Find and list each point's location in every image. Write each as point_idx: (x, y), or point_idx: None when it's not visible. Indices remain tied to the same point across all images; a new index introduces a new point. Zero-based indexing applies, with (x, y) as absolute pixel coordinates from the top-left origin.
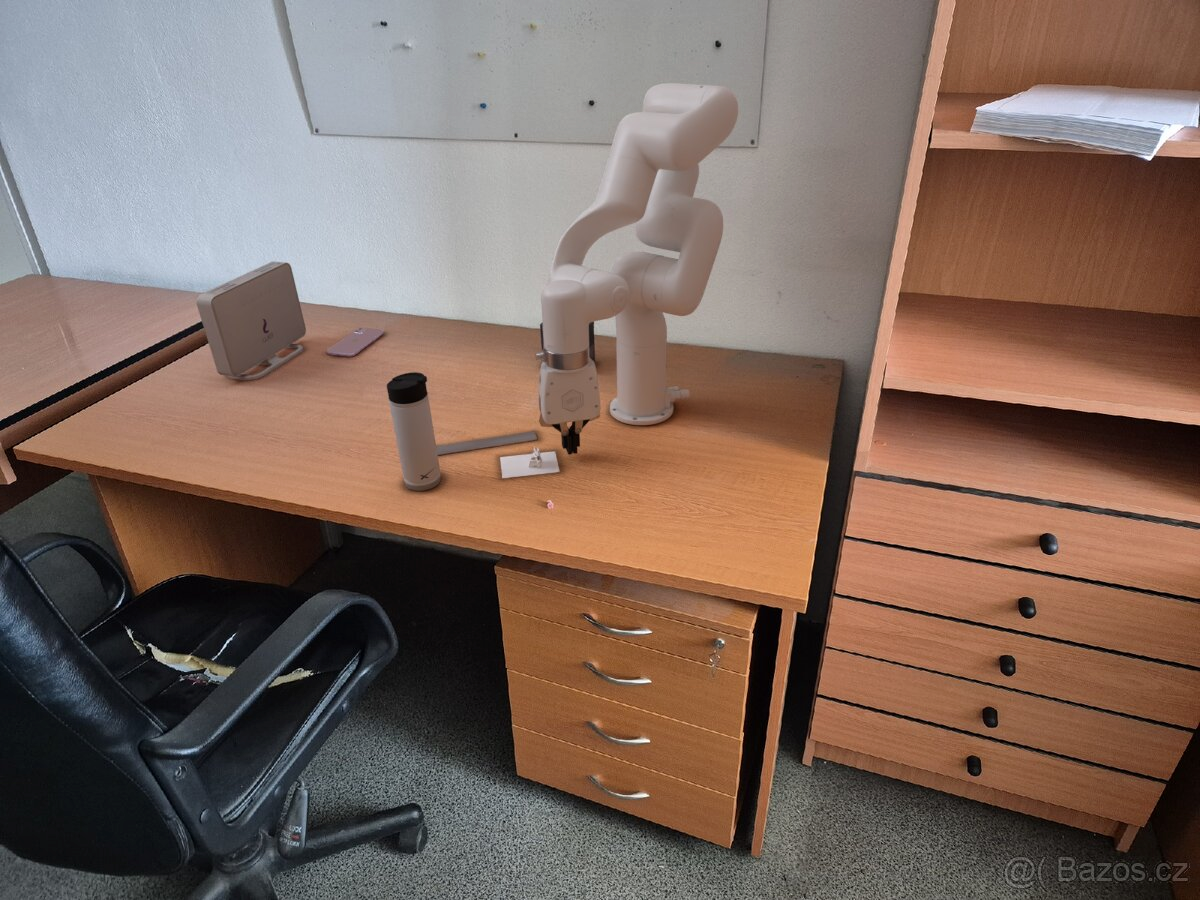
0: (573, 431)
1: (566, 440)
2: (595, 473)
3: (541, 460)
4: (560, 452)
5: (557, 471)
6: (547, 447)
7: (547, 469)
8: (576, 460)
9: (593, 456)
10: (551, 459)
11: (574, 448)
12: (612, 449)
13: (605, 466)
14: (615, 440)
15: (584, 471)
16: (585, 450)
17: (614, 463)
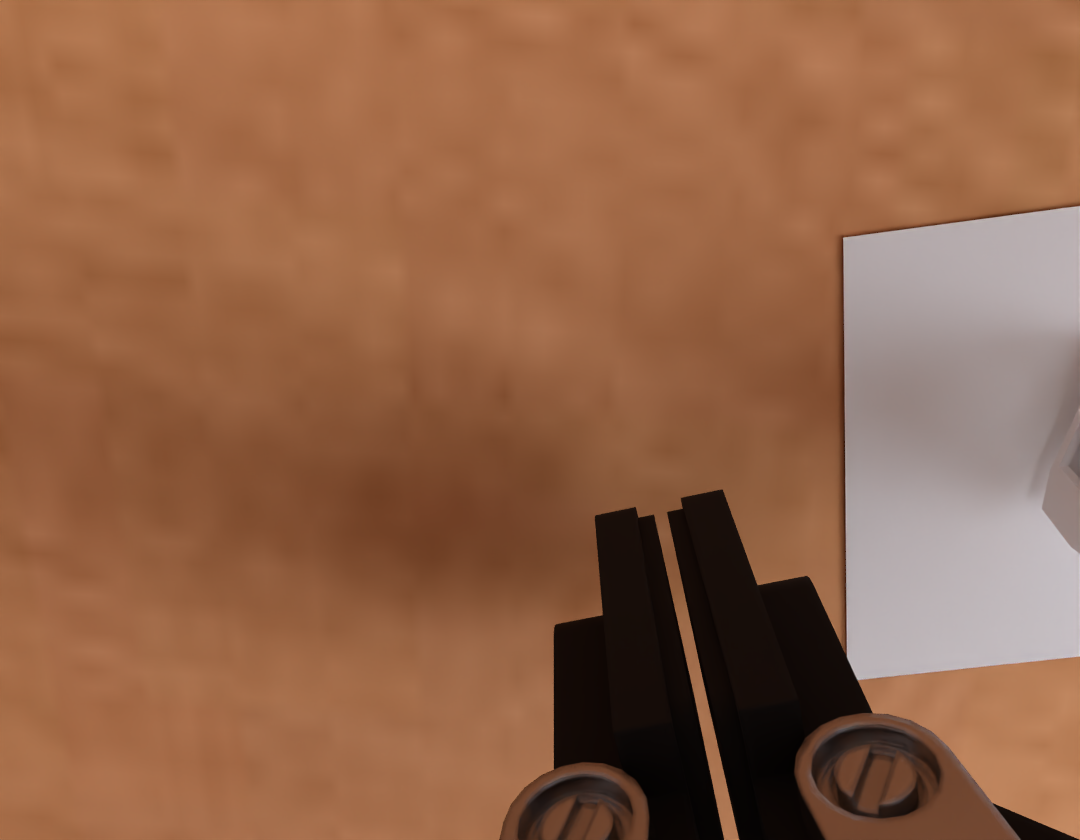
0: (679, 818)
1: (790, 670)
2: (350, 167)
3: (1067, 473)
4: None
5: (872, 247)
6: None
7: (997, 309)
8: (604, 489)
9: (396, 556)
10: (911, 526)
11: (642, 551)
12: (183, 674)
13: (228, 331)
14: (171, 825)
15: (504, 229)
16: (494, 676)
17: (119, 391)
